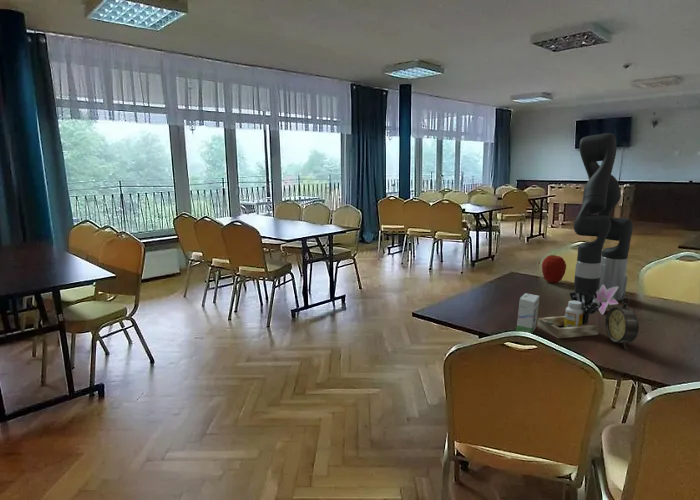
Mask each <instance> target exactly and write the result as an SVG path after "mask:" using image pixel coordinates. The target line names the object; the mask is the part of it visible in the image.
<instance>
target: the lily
mask: <svg viewBox="0 0 700 500" xmlns="http://www.w3.org/2000/svg"><path fill="white" fill-rule="evenodd" d="M617 289H618V286H617V287H612V288H609V289H606V288H605V286H604V285H602V286H601V288H600V290H599V292H598V291H597V292H596V294H597V300H598V302H601V303H602V306H601V307H600V308H599V309H598V310H597V311H599V313H600V314H601V315H604V314H605V312H606V309H607V308H608V309H609V310H610V309H611V308H610V306H611V305H619V302H618V301H616V300H615V299H614V298H612V297H613V295H614V293H615V292H616V291H617Z"/></svg>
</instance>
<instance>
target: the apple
mask: <svg viewBox="0 0 700 500" xmlns="http://www.w3.org/2000/svg"><path fill="white" fill-rule="evenodd" d="M566 270H567V264H566V261H565V259H564V258H563V257H562V256H559V255H556V254H551V255H548V256H546V257H545V258H544V259H543V261H542V264H541V272H542V275H543V279H544V280H545V281H546V282H547V283H550V284H556V283H559V282H561V281H562V280H563V277H564V275H565V274H566Z"/></svg>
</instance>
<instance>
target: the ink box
mask: <svg viewBox="0 0 700 500" xmlns="http://www.w3.org/2000/svg"><path fill="white" fill-rule="evenodd" d="M518 302H519V305H518V313H517V322H516V331H524V332H529V333H532V334H533V333H534V331H535V329H536V328H537V324H538V315H539V313H538V312H539V306H540V305H539V304H540V295H537V294H531V293H525V292H524V294H523V295H521V296H520V298H519V301H518ZM516 331H515V332H516Z"/></svg>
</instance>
